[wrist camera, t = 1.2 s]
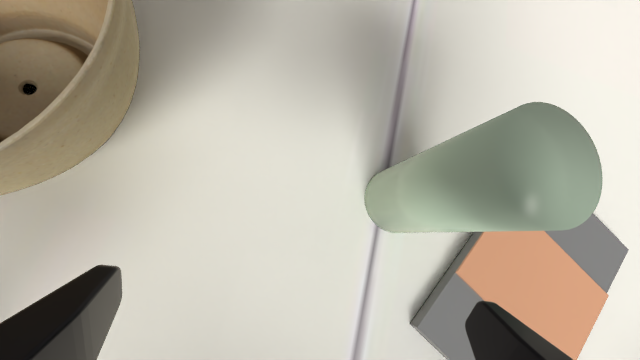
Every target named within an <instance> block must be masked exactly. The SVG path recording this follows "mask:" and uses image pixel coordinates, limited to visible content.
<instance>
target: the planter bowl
mask: <svg viewBox="0 0 640 360" xmlns="http://www.w3.org/2000/svg"><path fill="white" fill-rule="evenodd" d="M138 70H139V35H138V27H137V21H136V16H135V11H134V7H133V3H132V0H0V195H3V194H7V193H11V192H15V191H18V190H21V189H24V188H27V187H30V186H33V185H36V184H38V183H41V182H43V181H46V180H48V179H50V178H53V177H55V176H57V175H59V174H61V173H63V172H65V171H67V170H69V169H71V168H72V167H74V166H75V165H77V164H79V163H80V162H82V161H83V160H84V159H86V158H87V157H89V156H90V155H91V154H93V153H94V152H95V151H96V150H97V149H98V148H100V147H101V146H102V145H103V144H104V143H105V142H106V141H107V140H108V139H109V138H110V137H111V135H112V134H113V133H114V131H115V130H116V128H117V127H118V126H119V124H120V122H121V121H122V119H123V117H124V116H125V114H126V112H127V110H128V108H129V105H130V103H131V100H132V97H133V94H134V91H135V87H136V82H137V77H138ZM27 83H28V84H33V85H34V86H35V87H36V88H37V90H36V92H35V93H34V94H31V95H27V94H25V93H24V92H23V87H24V85H25V84H27Z"/></svg>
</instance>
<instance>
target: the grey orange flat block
mask: <svg viewBox="0 0 640 360" xmlns="http://www.w3.org/2000/svg"><path fill="white" fill-rule="evenodd" d="M627 252H628V249H627V248H626V247H625V246H624V245H623V244H622V243H621V242H620V241H619V239H618V238H617V237H616V236H615V235H614V234H613V233H612V232H611V231H610V230H609V229H608V228H607V227H606V226H605V225H604V224H603V223H602V222H601V221H600V220H599V219H598V218H597V217H596V216H595V215H594V214H593V213H592V215H591V216H590V217H589V218H588V219H587V220H586V221H585V222H584V223H582V224H581V225H579V226H577V227H575V228H572V229H569V230H559V231H492V232H474V233H473V234H472V236H471V237H470V238H469V240H468V241H467V243H466V244H465V246H464V247H463V248H462V250H461V251H460V253H459V254H458V256H457V257H456V259H455V260H454V261H453V263H452V264H451V266H450V267H449V269H448V270H447V271H446V273H445V274H444V276H443V277H442V279H441V280H440V281H439V283H438V284H437V286H436V287H435V289H434V290H433V292H432V293H431V294H430V296H429V297H428V299H427V300H426V302H425V303H424V304H423V306H422V307H421V309H420V310H419V312H418V313H417V314H416V316H415V317H414V319H413V320H412V322H411V323H410V324H411V325H412V326H413V327H414V328H415V329H416V330H417V331H418V332H419V333H420V334H421V335H422V336H423V337H424V338H425V339H426V340H427V341H428V342H429V343H431V344H432V345H433V346H434V347H435V348H436V349H437V350H438V351H439V352H440V353H441V354H442V355H443V356H444V357H445V358H446V359H447V360H475V358H474V354H473V351H472V348H471V345H470V342H469V339H468V336H467V333H466V330H465V321H466V319H467V317H468V316H469V314H470V313H471V311H472V309H473V308H474V306H475V304H476V303H477V302H479V301H490V302H494V303H496V304H498V305H499V306H500V307H502V308H503V309H504V310H506V311H507V312H509V313H510V314H511V315H513V316H514V317H516V318H517V319H518V320H520V321H521V322H522V323H524V324H525V325H527V326H528V327H529V328H531V329H532V330H533V331H535V332H536V333H538V334H539V335H540V336H542V337H543V338H544V339H546V340H547V341H549V342H550V343H551V344H553V345H554V346H555V347H557V348H558V349H560V350H561V351H562V352H564V353H565V354H567V355H568V356H569V357H571V358H572V359H573V360H577V358H578V356H579V354H580V352H581V350H582V348H583V346H584V344H585V342H586V340H587V338H588V336H589V334H590V332H591V330H592V328H593V326H594V324H595V322H596V320H597V318H598V316H599V314H600V312H601V310H602V308H603V306H604V304H605V302H606V300H607V298H608V296H609V295H608V294H607V292H608V290H609V288H610V286H611V284H612V282H613V280H614V278H615V276H616V274H617V272H618V270H619V268H620V266H621V264H622V262H623V260H624V258H625V256H626V254H627Z"/></svg>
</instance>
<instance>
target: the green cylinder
mask: <svg viewBox="0 0 640 360" xmlns="http://www.w3.org/2000/svg"><path fill="white" fill-rule="evenodd" d="M601 190H602V169H601V163H600V159H599V155H598V153H597V150H596V147H595V145H594V143H593V141H592V139H591V137H590V136H589V134H588V133H587V131H586V130H585V128H584V127H583V126H582V125H581V124H580V123H579V122H578V121H577V120H576V119H575V118H574V117H573V116H572V115H571V114H569V113H568V112H566V111H565V110H563V109H561V108H559V107H557V106H555V105H552V104H548V103H543V102H532V103H527V104H524V105H521V106H519V107H517V108H515V109H513V110H511V111H508V112H506V113H504V114H502V115H500V116H498V117H496V118H494V119H491V120H489V121H487V122H485V123H483V124H481V125H479V126H477V127H474V128H472V129H470V130H468V131H466V132H464V133H462V134H460V135H458V136H455V137H453V138H451V139H449V140H447V141H445V142H443V143H441V144H438V145H436V146H434V147H432V148H430V149H428V150H426V151H424V152H422V153H419V154H417V155H415V156H413V157H411V158H409V159H407V160H405V161H402V162H400V163H398V164H396V165H394V166H392V167H390V168H388V169H386V170H383V171H381V172H379V173H378V174H376V175H375V176H374V177H373V178H372V179H371V180H370V182H369V184H368V186H367V188H366V192H365V206H366V210H367V212H368V215H369V217H370V218H371V220H372V221H373V222H374V223H375V224H376V225H377V226H378V227H380V228H381V229H383V230H385V231H388V232H392V233H425V232H492V231H559V230H569V229H572V228H575V227H577V226H579V225H581V224H582V223H584V222H585V221H586V220H587V219H588V218H589V217H590V216H591V215H592V213H593V212H594V210H595V209H596V207H597V204H598V202H599V199H600V196H601Z"/></svg>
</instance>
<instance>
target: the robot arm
mask: <svg viewBox="0 0 640 360" xmlns="http://www.w3.org/2000/svg"><path fill="white" fill-rule="evenodd" d="M121 298H122V279H121V270H120V268H119V267H117V266H109V265H98V266H95V267H94V268H92V269H90V270H89V271H87V272H85V273H84V274H82V275H80V276H79V277H77V278H75V279H74V280H72V281H70V282H68V283H67V284H65V285H63V286H62V287H60V288H58V289H57V290H55V291H53V292H52V293H50V294H48V295H47V296H45V297H43V298H42V299H40V300H38V301H37V302H35V303H33V304H32V305H30V306H28V307H27V308H25V309H23V310H22V311H20V312H18V313H17V314H15V315H13V316H12V317H10V318H8V319H7V320H5V321H3V322H2V323H0V360H97V357H98V355H99V353H100V350H101V348H102V345H103V343H104V341H105V338H106V336H107V334H108V331H109V329H110V327H111V324H112V322H113V319H114V317H115V315H116V312H117V310H118V308H119V305H120V302H121ZM465 330H466V333H467V336H468V339H469V342H470V345H471V348H472V351H473V354H474V358H475V360H573V359H572V358H571V357H569V356H568V355H567V354H565V353H564V352H562V351H561V350H560V349H558V348H557V347H555V346H554V345H553V344H551V343H550V342H549V341H547V340H546V339H544V338H543V337H542V336H540V335H539V334H538V333H536V332H535V331H533V330H532V329H531V328H529V327H528V326H527V325H525V324H524V323H522V322H521V321H520V320H518V319H517V318H516V317H514V316H513V315H511V314H510V313H509V312H507V311H506V310H504V309H503V308H502V307H500V306H499V305H498V304H496V303H494V302H490V301H479V302H477V303H476V304H475V306H474V308H473V309H472V311H471V313H470V314H469V316H468V317H467V319H466V321H465Z"/></svg>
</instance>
